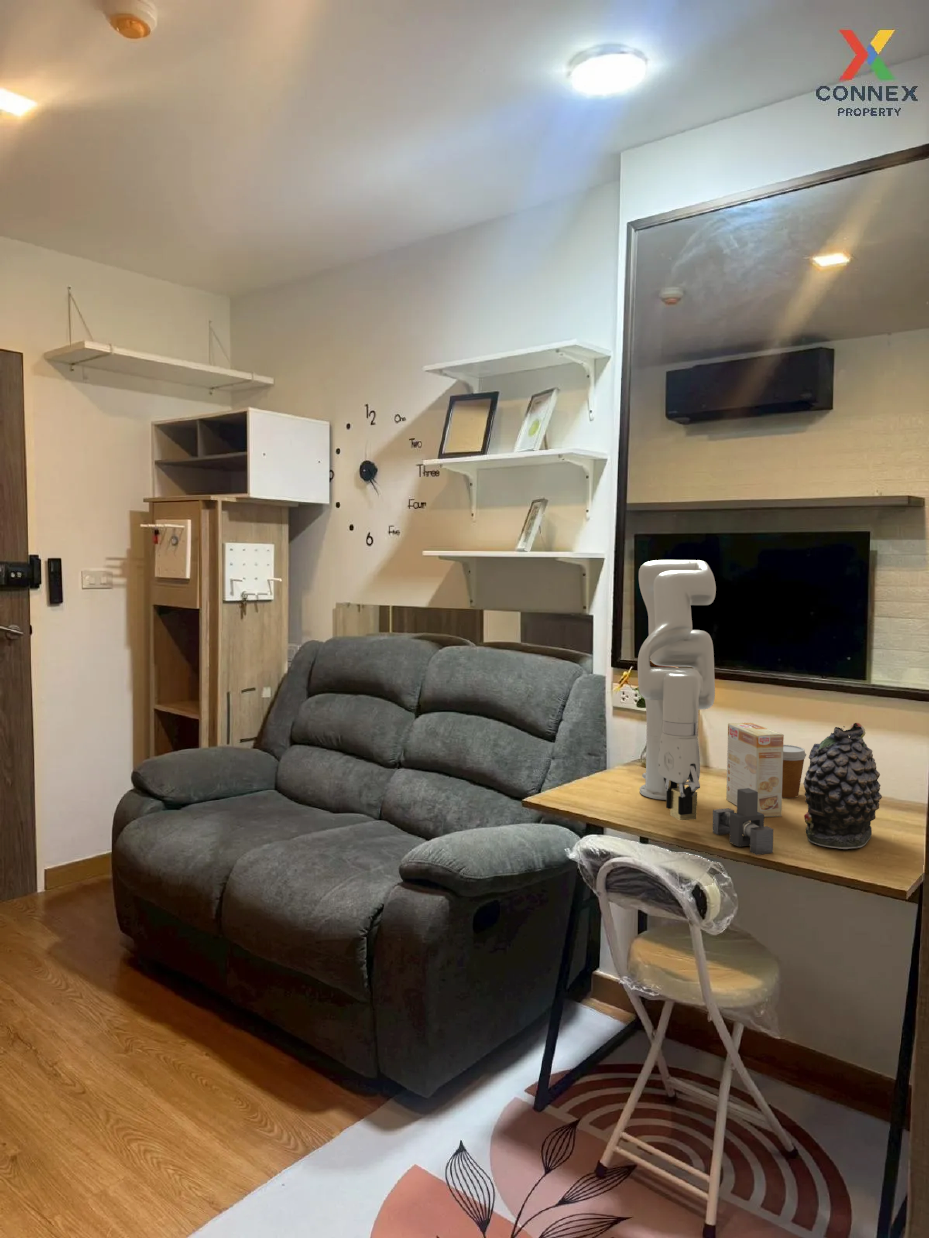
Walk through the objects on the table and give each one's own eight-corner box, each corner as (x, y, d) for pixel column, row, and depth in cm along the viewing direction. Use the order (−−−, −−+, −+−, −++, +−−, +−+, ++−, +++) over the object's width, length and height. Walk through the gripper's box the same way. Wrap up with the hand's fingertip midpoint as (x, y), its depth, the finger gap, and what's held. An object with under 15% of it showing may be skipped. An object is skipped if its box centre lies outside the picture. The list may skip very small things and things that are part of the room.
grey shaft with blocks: (712, 832, 183) (713, 809, 182) (728, 830, 184) (728, 807, 183) (756, 854, 168) (756, 830, 168) (772, 852, 170) (773, 828, 169)
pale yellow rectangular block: (670, 815, 184) (671, 788, 184) (685, 814, 185) (687, 787, 185) (680, 820, 180) (681, 793, 180) (696, 819, 181) (697, 792, 181)
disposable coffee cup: (809, 800, 206) (810, 753, 206) (769, 798, 208) (770, 751, 207) (800, 790, 216) (801, 744, 215) (762, 788, 217) (763, 743, 216)
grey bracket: (729, 841, 175) (730, 789, 174) (754, 838, 177) (755, 787, 176) (738, 846, 172) (739, 793, 171) (763, 843, 174) (764, 791, 173)
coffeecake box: (782, 816, 194) (785, 734, 192) (754, 817, 193) (756, 735, 191) (751, 798, 208) (753, 721, 207) (725, 799, 207) (726, 722, 206)
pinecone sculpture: (814, 820, 191) (817, 713, 189) (886, 832, 182) (890, 720, 181) (791, 845, 174) (794, 728, 172) (869, 860, 165) (874, 736, 164)
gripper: (645, 722, 188) (644, 802, 189) (687, 736, 172) (685, 823, 173) (674, 721, 190) (673, 799, 191) (717, 734, 174) (716, 820, 175)
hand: (679, 810), depth 182 cm, fingers closed on pale yellow rectangular block, 4 cm apart
